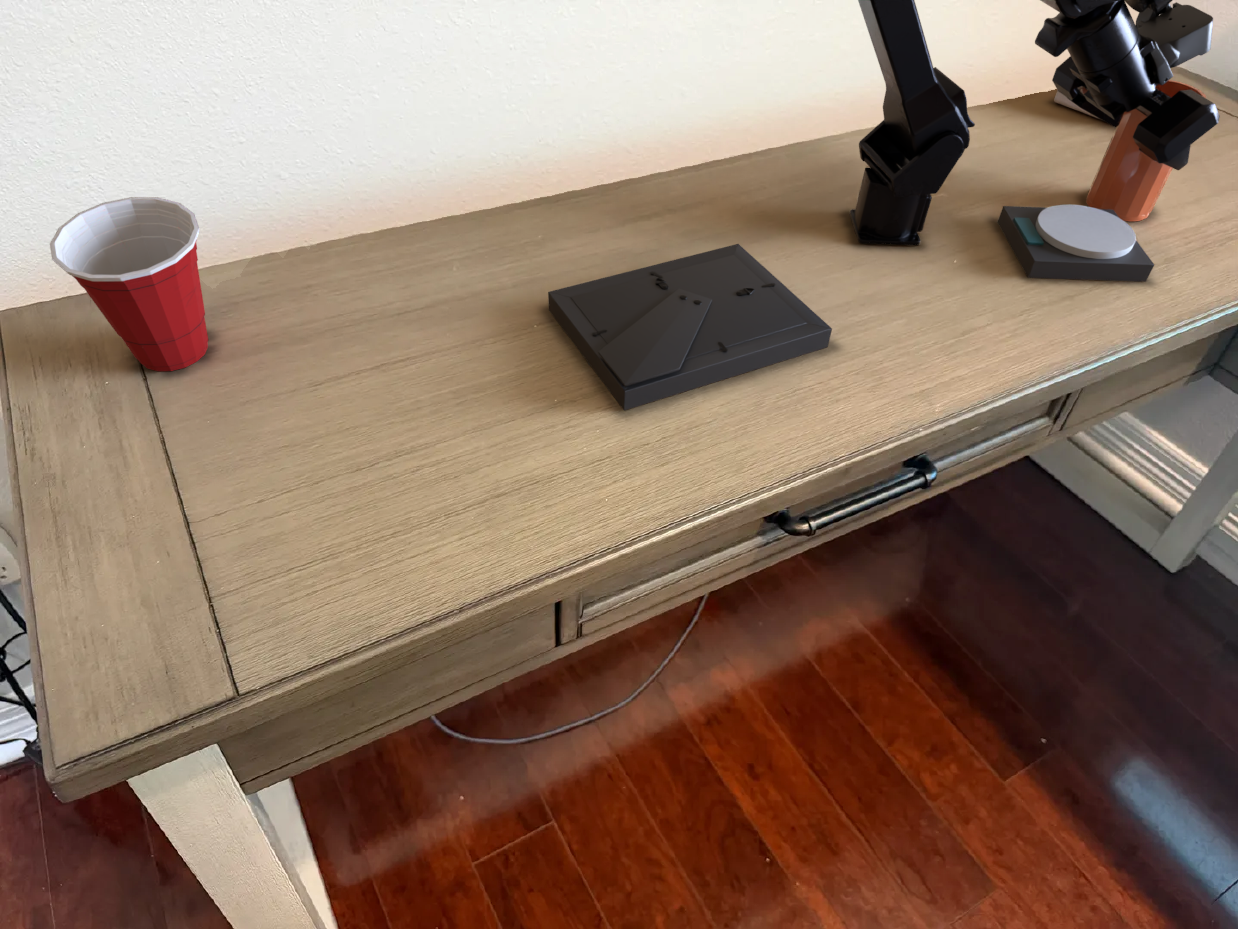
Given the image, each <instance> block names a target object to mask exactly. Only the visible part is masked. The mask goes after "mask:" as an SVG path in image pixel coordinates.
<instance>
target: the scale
mask: <svg viewBox="0 0 1238 929" xmlns="http://www.w3.org/2000/svg"><path fill="white" fill-rule="evenodd" d="M997 225H998V227H999V229H1000V231H1001V232H1002V233H1003V236H1004V237H1005V239H1006V241H1007V242H1008V244H1009V246H1010V249H1011V250H1012V251H1013V254H1014V256H1015V257H1016V259H1017V261H1018V263H1019V264H1020V266H1021V268H1022V270H1023V271H1024V273H1025V275H1026V277H1027V278H1028V279H1048V280H1049V279H1051V280H1055V279H1056V280H1083V281H1085V280H1086V281H1113V282H1143V283H1144V282H1145V283H1146V282H1147V280H1148V279H1149V276H1150V274H1151V273H1152V271H1153V269H1154V267H1155V263H1154V262H1153V260H1152V259H1151V258H1150V256H1149V255H1148V254H1147V253H1146V251H1145V250H1144V249H1143V247H1142V246H1141V245H1140V244H1139V242H1138V241H1137V235H1136V232H1135V231H1134V229H1133V228H1132V227H1131V226H1130V224H1129V223H1127V221H1123V220H1122V219H1120V218H1119V217H1118V215H1117V214H1116V213H1115V211H1114V210H1111V209H1096V208H1092V207H1089V206H1088V205H1081V204H1071V203H1070V204H1069V203H1068V204H1067V203H1066V204H1056V205H1051V206H1049V207H1048V206H1047V207H1045V206H1020V205H1019V206H1017V205H1002V208H1001V211H1000V213H999V216H998V219H997Z"/></svg>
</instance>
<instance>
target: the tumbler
mask: <svg viewBox="0 0 1238 929" xmlns="http://www.w3.org/2000/svg"><path fill="white" fill-rule="evenodd" d="M1155 88H1157V89H1159V90H1160V91H1162V92H1163V93H1165V94H1166V95H1168V96H1170V97H1172V96H1174V95H1175V94H1176V93H1177V92H1179V91H1181V90H1193V91H1194V92H1196V93H1198V94H1199V95H1201V96H1203V97H1204V98H1206V99H1207V95H1206V94H1205V93H1204V92H1203V91H1202V90H1201V89H1199V88H1197V87H1195V86H1192V85H1191V84H1187V83H1184V82H1181V81H1178V80H1173V79H1170V80H1168V81H1167V82H1166V83H1165V84H1163V85H1160V84H1158V85H1157V86H1156V87H1155ZM1145 118H1147V116H1146V115H1144V114H1143V113H1141V112H1140V111H1138V110H1137V109H1134V110H1132V111H1129V112H1124V113H1123V114H1122V115H1121V118H1120V120H1119V122H1118V124H1117V127H1116V128H1115V129H1114V132H1113V134H1112V136H1111V138H1110V141H1109V143H1108V146H1107V147H1106V150H1105V153H1104V154H1103V156H1102V160H1101V161H1100V164H1099V166H1098V169H1097V171H1096V174H1095V176H1094V178H1093V181H1092V182H1091V185H1090V188H1089V190H1088V193H1087V195H1086V198H1085V202H1086V206H1088V207H1092V208H1096V209H1111V210H1114V211H1115V213H1116V214H1117V215H1118V217H1119V218H1120V219H1122V220H1123V221H1124V222H1139V221H1143V220H1147V218H1149V216H1150V215H1151V212H1152V211H1153V209H1154V208H1155V205H1156V204H1157V202H1158V200H1159V198H1160V195H1161V193H1162V192H1163V189H1164V188H1165V186H1166V183H1167V181H1168V179H1169V178H1170V175H1171V173H1172V171H1173V170H1174V168H1172V167H1169V166H1167V165H1165V164H1163V163H1160V164H1159V163H1158V162H1156V161H1154V160H1152V159H1151V158H1150V157H1148V156H1147V155H1145V154H1144V153H1143V152H1141V151H1140V150H1139V147H1138V146H1137V144H1136V143H1135V141H1134V139H1133V135H1134V132H1135V130H1136V128H1137V126H1138V124H1139V123H1140V122H1142V121H1143V120H1144V119H1145Z"/></svg>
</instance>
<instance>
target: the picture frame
mask: <svg viewBox="0 0 1238 929" xmlns="http://www.w3.org/2000/svg"><path fill="white" fill-rule="evenodd" d="M547 298H548V299H547V302H548V303H547V304H548V312H549V313H550V314H551V315H552V317H553V318H554V319H555V321H556V322H557V323H558V324H559V326H560V328H561V329H562V331H563V332H564V333H565V334H566V335H567V336H568V338H569V340H570V341H571V342H572V343H573V345H574V346H575V347H576V349H577V350H578V351H579V353H580V354H581V356H582V357H583V358H584V359H585V361H586V362H587V363H588V364H589V366H590V367H591V369H592V370H593V371H594V373H595V374H596V375H597V377H598V378H599V379H600V381H601V383H603V385H604V386H605V387H606V389H607V390H608V392H609V393H610V394H611V395H612V397H613V398H614V399H615V401H616V402H617V403H618V405H619V406H620V408H621V409H622V410H623V411H627V410H630V409H634V408H637V407H640V406H643V405H648V404H650V403H653V402H656V401H660V400H663V399H666V398H669V397H672V396H675V395H679V394H682V393H685V392H688V391H692V390H695V389H698V388H701V387H705V386H708V385H711V384H714V383H717V382H721V381H725V380H727V379H730V378H733V377H736V376H740V375H743V374H746V373H749V372H753V371H755V370H759V369H762V368H766V367H768V366H772V365H775V364H778V363H781V362H785V361H788V360H791V359H794V358H797V357H801V356H804V355H807V354H810V353H814V352H816V351H820V350H824V349H826V348H828V347H829V343H830V339H831V335H832V330H833V328H832V327H831V326H830V325H829V324H828V323H826V321H824V319H823V318H821V317H820V316H819V315H818V314H817V313H816V312H815V311H813V310H812V309H811V308H810V307H809V306H808V305H807V304H805V302H804V301H802V300H801V298H799V297H798V296H797V295H796V294H795V293H793V291H792V290H790V289H789V288H788V287H787V286H786V285H784V284H783V283H782V282H781V281H780V279H778V278H777V277H776V276H775V275H774V274H772V273H771V272H770V271H769V270H768V269H767V268H766V267H765V266H764V265H763V264H762V263H761V262H759V261H758V260H757V259H756V258H755V257H754V256H753V255H751V253H749V252H748V251H747V250H746V249H745V248H744V247H743V246H742V245H740V244H739V243H736V244H731V245H728V246H724V247H719V248H716V249H712V250H708V251H704V252H700V253H695V254H692V255H687V256H684V257H680V258H676V259H671V260H668V261H664V262H659V263H655V264H652V265H649V266H644V267H640V268H637V269H633V270H629V271H625V272H620V273H616V274H612V275H609V276H605V277H600V278H598V279H593V280H590V281H586V282H582V283H581V282H580V283H577V284H574V285H569V286H566V287H561V288H557V289H554V290H550V291H548V292H547Z"/></svg>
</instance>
